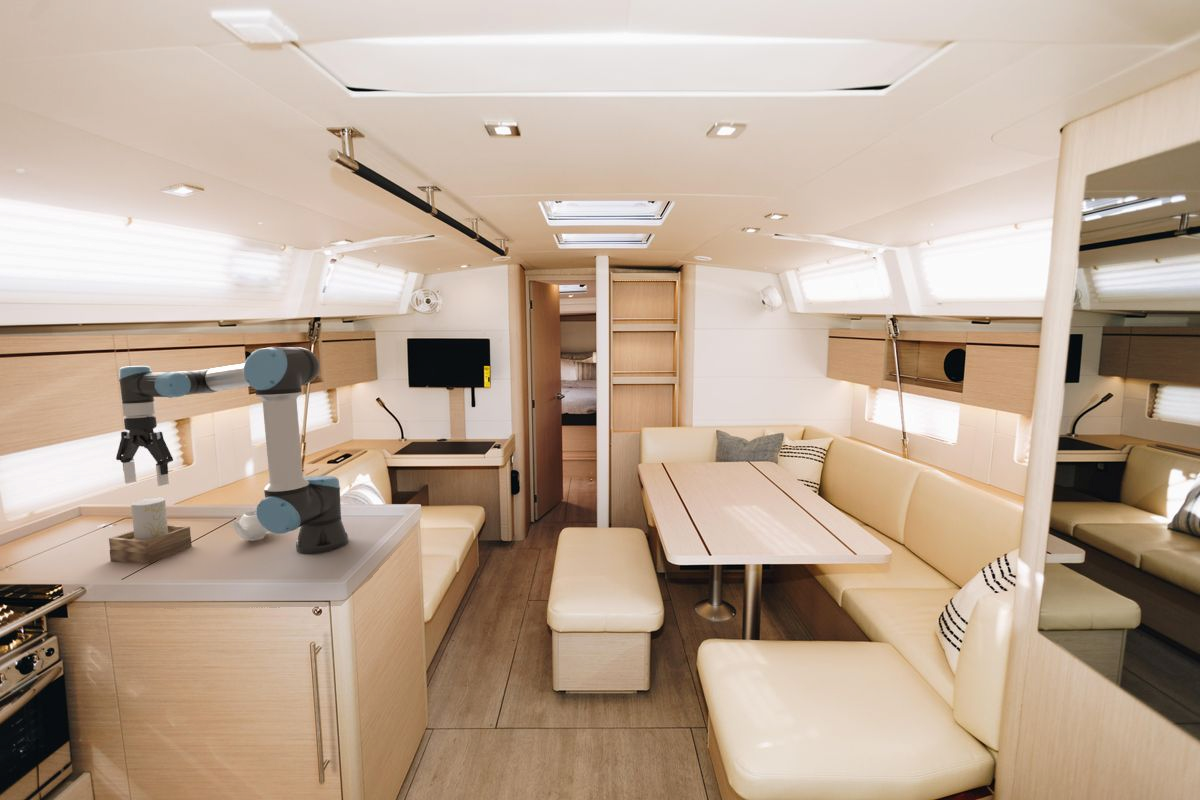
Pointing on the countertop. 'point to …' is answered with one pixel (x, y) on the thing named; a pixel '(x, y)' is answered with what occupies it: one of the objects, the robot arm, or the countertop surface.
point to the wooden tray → (131, 545)
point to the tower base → (151, 556)
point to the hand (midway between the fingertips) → (146, 483)
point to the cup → (149, 518)
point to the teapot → (250, 527)
